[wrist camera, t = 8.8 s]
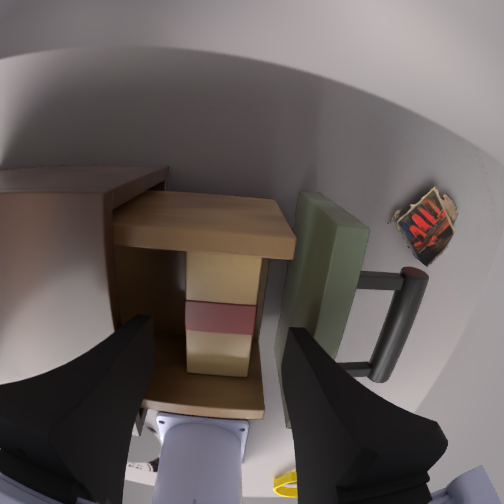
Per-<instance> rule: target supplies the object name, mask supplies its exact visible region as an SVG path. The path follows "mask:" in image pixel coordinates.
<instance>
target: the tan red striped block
mask: <svg viewBox="0 0 504 504" xmlns="http://www.w3.org/2000/svg"><path fill="white" fill-rule="evenodd" d="M261 265H262V257H249V256H237V255H225V254H212V253H200V252H188V251H186V285H185V299H184V327H185V329H186V359H187V372H188V373H198V374H209V375H221V376H236V377H247V375H248V367H249V360H250V352H251V344H252V337H253V334H254V331H255V323H256V315H257V308H258V305H257V297H258V289H259V281H260V273H261Z"/></svg>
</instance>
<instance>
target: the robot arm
mask: <svg viewBox="0 0 504 504" xmlns="http://www.w3.org/2000/svg"><path fill="white" fill-rule="evenodd" d="M155 358H156V352H155V342H154V331H153V319H152V316H151V315H143V314H137V315H135V316H134V317H133V318H131V319H130V320H129V321H128V322H126V323H125V324H124V325H123V326H121V327H120V328H119V329H118V330H116V331H115V332H114V333H112V334H111V335H110V336H109V337H107V338H106V339H105V340H103V341H102V342H100V343H99V344H97V345H96V346H94V347H93V348H92V349H90V350H89V351H87V352H86V353H84V354H82V355H81V356H79V357H77V358H75V359H73V360H72V361H70V362H68V363H66V364H64V365H61V366H59V367H57V368H55V369H52V370H50V371H48V372H45V373H43V374H40V375H37V376H34V377H31V378H27V379H24V380H20V381H16V382H11V383H6V384H1V385H0V448H1V449H0V504H122V498H123V487H124V478H125V470H126V464H127V457H128V452H129V446H130V441H131V436H132V432H133V427H134V424H135V421H136V418H137V415H138V412H139V409H140V406H141V404H142V401H143V398H144V395H145V393H146V390H147V387H148V384H149V382H150V379H151V376H152V371H153V367H154V363H155ZM281 376H282V388H283V393H284V397H285V402H286V406H287V411H288V415H289V420H290V424H291V429H292V434H293V440H294V449H295V459H296V473H297V493H298V504H502V503H501V501H500V499H499V497H498V495H497V492H496V490H495V488H494V487H493V485H492V483H491V481H490V479H489V477H488V475H487V473H486V472H485V470H484V468H483V466H482V465H480V466H478V467H476V468H474V469H472V470H470V471H468V472H465V473H463V474H461V475H460V476H458V477H457V478H455V479H454V480H453V481H452V482H451V483H449V484H448V485H447V487H446V488H443V489H441V490H438V491H436V492H433V493H431V494H430V491H429V489H428V487H427V484H426V483H427V482H429V480H430V477H429V475H428V473H427V471H428V470H429V469H430V468H431V467H432V466H433V465H434V464H435V463H436V462H437V461H438V460H439V459H440V458H441V456H442V455H443V454H444V453H445V451H446V449H447V446H448V440H447V439H446V437H445V435H444V433H443V431H442V430H441V428H440V426H439V425H438V423H437V422H436V421H433V420H430V419H427V418H424V417H421V416H419V415H416V414H413V413H411V412H409V411H406V410H404V409H402V408H400V407H398V406H396V405H394V404H392V403H390V402H388V401H387V400H385V399H383V398H382V397H380V396H378V395H377V394H375V393H374V392H372V391H371V390H369V389H368V388H366V387H365V386H364V385H362V384H361V383H360V382H358V381H357V380H356V379H354V378H353V377H352V376H351V375H350V374H348V373H347V372H346V371H345V370H344V369H343V368H342V367H341V366H340V365H339V364H338V363H337V362H335V361H334V360H333V359H332V358H331V356H330V355H329V354H328V353H327V352H326V351H325V350H324V349H323V348H322V347H321V346H320V345H319V343H318V342H317V341H316V340H315V339H314V338H313V337H312V336H311V334H310V333H309V332H308V331H307V330H306V329H305V328H304V327H289V329H288V334H287V339H286V344H285V349H284V353H283V358H282V363H281ZM156 420H157V425H158V430H159V435H160V439H161V443H162V450H161V456H160V461H159V466H158V472H157V477H156V483H155V489H154V495H153V501H152V504H242V468H241V467H242V462H243V456H244V451H245V445H246V440H247V434H248V428H249V423H248V422H247V421H244V420H227V419H213V418H202V417H192V416H183V415H175V414H168V413H157V415H156Z"/></svg>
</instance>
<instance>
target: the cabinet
mask: <svg viewBox="0 0 504 504" xmlns="http://www.w3.org/2000/svg"><path fill="white" fill-rule="evenodd" d="M167 187H168V166H149V165H74V166H48V167H31V168H17V169H5V170H0V385H1V384H6V383H11V382H16V381H20V380H24V379H27V378H31V377H34V376H37V375H40V374H43V373H45V372H48V371H50V370H52V369H55V368H57V367H59V366H61V365H64V364H66V363H68V362H70V361H72V360H73V359H75V358H77V357H79V356H81V355H82V354H84V353H86V352H87V351H89V350H90V349H92V348H93V347H94V346H96V345H97V344H99V343H100V342H102V341H103V340H105V339H106V338H107V337H109V336H110V335H111V334H112V333H114V332H115V331H116V330H118V329H119V328H120V327H121V326H122V324H121V317H120V309H119V301H118V292H117V283H116V272H115V260H114V244H113V223H112V210H113V209H115V208H117V207H118V206H120V205H122V204H123V203H125V202H127V201H128V200H130V199H132V198H133V197H135V196H137V195H139V194H140V193H142V192H144V191H146V190H153V191H167ZM147 410H148V409H146V408H140V409H139V412H138V415H137V418H136V421H135V424H134V427H133V432H132V435H135V436H141V432H142V428H143V425H144V421H145V417H146V414H147Z"/></svg>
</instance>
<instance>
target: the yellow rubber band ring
mask: <svg viewBox="0 0 504 504" xmlns="http://www.w3.org/2000/svg"><path fill="white" fill-rule="evenodd" d="M291 482H297V473H296V471H295V472H290V473H288V474H286V475H283V476H281V477H279V478H275V479H274V486H273V491H274V492H275V493H276V494H278V495H280V496H285V497H298V493H297V488H287V487H283V485H286V484H289V483H291Z"/></svg>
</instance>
